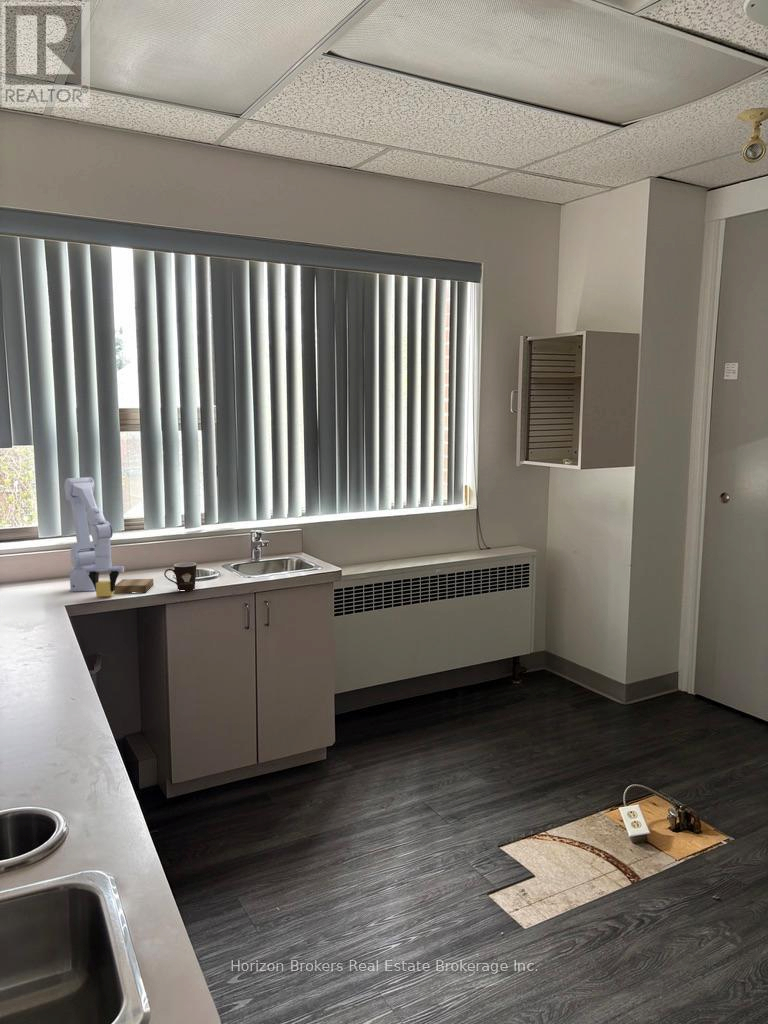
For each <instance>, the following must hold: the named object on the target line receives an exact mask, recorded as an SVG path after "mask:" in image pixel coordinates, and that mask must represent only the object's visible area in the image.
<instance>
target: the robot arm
mask: <svg viewBox="0 0 768 1024" xmlns="http://www.w3.org/2000/svg"><path fill="white" fill-rule="evenodd" d="M95 486H96V485H95V480H94V479H93V478H92V476H88V477H86V476H85V477H75V478H74V477H72V478H70V477H68V478H66V479H65V480H64V485H63V487H64V492H65V493H64V495H65V499H66V501H69V502H70V506H71V511H72V518H73V524H74V531H75V536H76V538H75V539H76V543H75V544H74V545H73V546H72V547H71V548H70V562H71V565H72V566H73V567H71V569H70V570H69V585H70V587H69V588H70V589H69V592H94V591H95V592H96V583H97V582H99V581H100V580H99V578H100V573H108V576H109V580H110V583H111V592H113V591H114V588H115V585H116V584H117V583H116V582H117V579H118V577H119V575H120V573H124V572H125V566H123V565H121V566H120V565H112V564H113V562H112V549H111V548H112V546H111V538H112V537H113V536H114V535H113V533H114V531H113V530H114V529H113V526H112V524H111V523H110V522H109V521H108V520H106V517H105V515H104V514H103V511H102V509H101V508H100V507H98V506H97V502H96V499H95V497H94V492H95ZM88 523H89V524H88ZM89 525H90V527H91V529H90V531H89ZM90 535H91V537H90ZM91 538H92V541H91Z"/></svg>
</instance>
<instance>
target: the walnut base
mask: <svg viewBox="0 0 768 1024" xmlns="http://www.w3.org/2000/svg"><path fill="white" fill-rule="evenodd" d="M153 585H154V578H137V579H136V578H128V579H127V578H125V579H124V578H123V579H121V580H120V581H119V582H117V583H115V588H114V594H116V593H121V594H133V593H132V592H147V591H148V590H149V589H150V588H151V587H152V586H153ZM153 587H154V586H153ZM153 587H152V588H153ZM152 588H151V589H152ZM151 589H150V590H151ZM150 590H149V591H150ZM149 591H148V592H149ZM148 592H147V593H148Z"/></svg>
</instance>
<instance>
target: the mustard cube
mask: <svg viewBox="0 0 768 1024" xmlns="http://www.w3.org/2000/svg"><path fill="white" fill-rule="evenodd" d="M95 594H96V597H97V598H98V597H111V596H113V594H115V592H114V591H113V592H111V583H110V579H108V580H106V579H105V580H99V582H97V583H96V591H95Z"/></svg>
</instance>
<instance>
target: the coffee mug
mask: <svg viewBox="0 0 768 1024" xmlns="http://www.w3.org/2000/svg"><path fill="white" fill-rule="evenodd" d="M197 565H198V564H197V563H196V562H179V563H175V564H173V568H174V569H173V568H167V569H165V571H164V573H163V575H164V577H165V578H166V580H168V581H170V582H172V583H174V584H175V585H176V587H177V590H178V589H179V590H185V591H187V592H192V591H191V590H193V589H196V577H197ZM168 571H171V572H172V573H173V574H174V575H175V579H176V581H174V580H173V579H171V578H169V577H168V576H167V575H166V574H167V572H168ZM193 591H194V590H193Z"/></svg>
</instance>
